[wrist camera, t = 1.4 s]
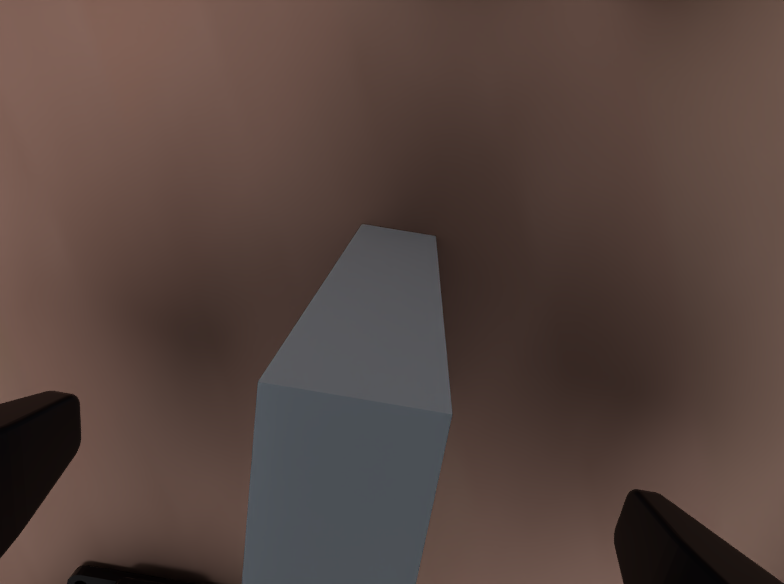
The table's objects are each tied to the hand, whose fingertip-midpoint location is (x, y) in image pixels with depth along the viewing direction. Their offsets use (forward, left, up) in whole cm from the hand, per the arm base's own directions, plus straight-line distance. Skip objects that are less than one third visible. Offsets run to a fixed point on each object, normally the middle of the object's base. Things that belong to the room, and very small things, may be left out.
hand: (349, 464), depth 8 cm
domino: (0, 0, -7) cm, 7 cm away
